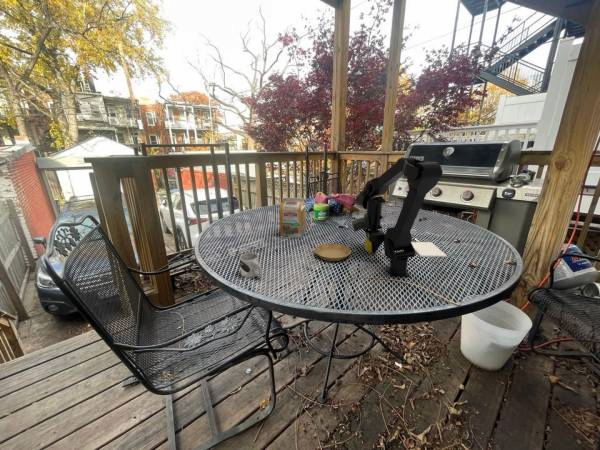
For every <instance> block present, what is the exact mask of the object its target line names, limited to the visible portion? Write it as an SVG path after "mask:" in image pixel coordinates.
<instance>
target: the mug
mask: <svg viewBox="0 0 600 450" xmlns="http://www.w3.org/2000/svg"><path fill="white" fill-rule="evenodd" d="M259 258H260V257H259V254H258V253H256V252H246V253H243V254H241V255H240V256H239V267H240V276H241V275H242V276H244V277H247V278H246V279H253V278H255V277H262V275H263V269H262V265H261V264H260V259H259ZM242 276H241V277H242ZM244 277H243V278H244ZM252 277H253V278H252Z"/></svg>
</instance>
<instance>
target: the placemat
mask: <svg viewBox="0 0 600 450" xmlns="http://www.w3.org/2000/svg"><path fill="white" fill-rule="evenodd" d="M411 243H412V245H413V247H414V250H415V252H416V253H417V255H418V256H420V257H421V258H447V257H448V255H447V254H446V253H445V252H443V251H442V250H441V249H440V248H439V247H437V245H436V244H434V243H433V242H431V241H429V242H428V241H427V242H425V241H421V242H419V241H418V242H416V241H411Z"/></svg>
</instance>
